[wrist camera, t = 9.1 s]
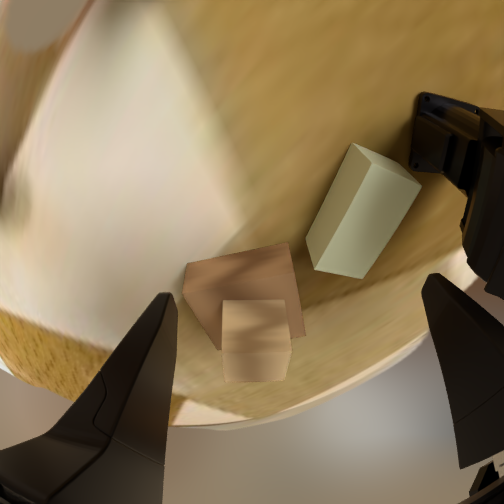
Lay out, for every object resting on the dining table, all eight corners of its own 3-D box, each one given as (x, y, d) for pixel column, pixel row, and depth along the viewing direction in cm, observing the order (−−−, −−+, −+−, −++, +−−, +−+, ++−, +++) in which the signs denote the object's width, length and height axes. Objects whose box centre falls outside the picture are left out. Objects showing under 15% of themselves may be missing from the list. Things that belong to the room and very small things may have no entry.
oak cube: (284, 299, 24) (292, 351, 20) (278, 333, 27) (283, 380, 23) (223, 300, 24) (221, 353, 20) (225, 334, 27) (224, 382, 23)
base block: (287, 239, 25) (294, 272, 22) (300, 304, 31) (306, 335, 27) (187, 260, 26) (181, 293, 23) (218, 319, 32) (217, 350, 29)
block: (397, 161, 20) (422, 186, 17) (348, 247, 26) (362, 279, 22) (350, 141, 19) (372, 163, 16) (304, 236, 25) (314, 269, 22)
